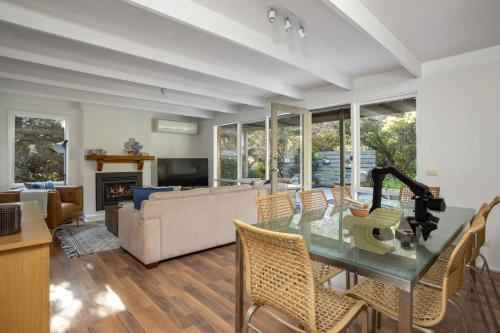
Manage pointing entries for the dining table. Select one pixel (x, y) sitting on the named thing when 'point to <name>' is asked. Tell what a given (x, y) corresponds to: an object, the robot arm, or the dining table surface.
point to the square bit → (419, 237)
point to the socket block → (399, 231)
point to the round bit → (405, 239)
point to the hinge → (405, 224)
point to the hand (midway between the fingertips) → (420, 238)
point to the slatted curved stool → (366, 225)
